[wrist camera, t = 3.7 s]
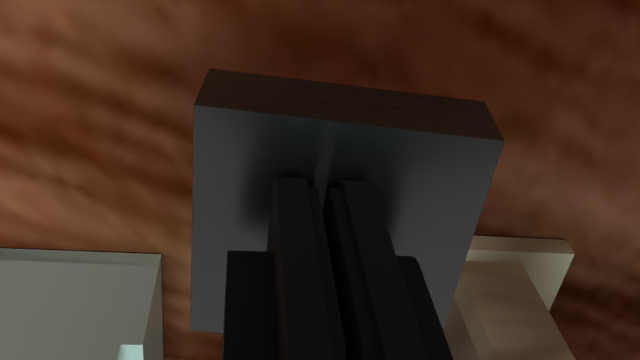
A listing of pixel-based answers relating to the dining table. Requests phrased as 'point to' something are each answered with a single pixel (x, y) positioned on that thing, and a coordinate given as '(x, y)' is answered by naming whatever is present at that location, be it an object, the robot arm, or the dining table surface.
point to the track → (335, 171)
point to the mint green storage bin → (80, 305)
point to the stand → (508, 300)
